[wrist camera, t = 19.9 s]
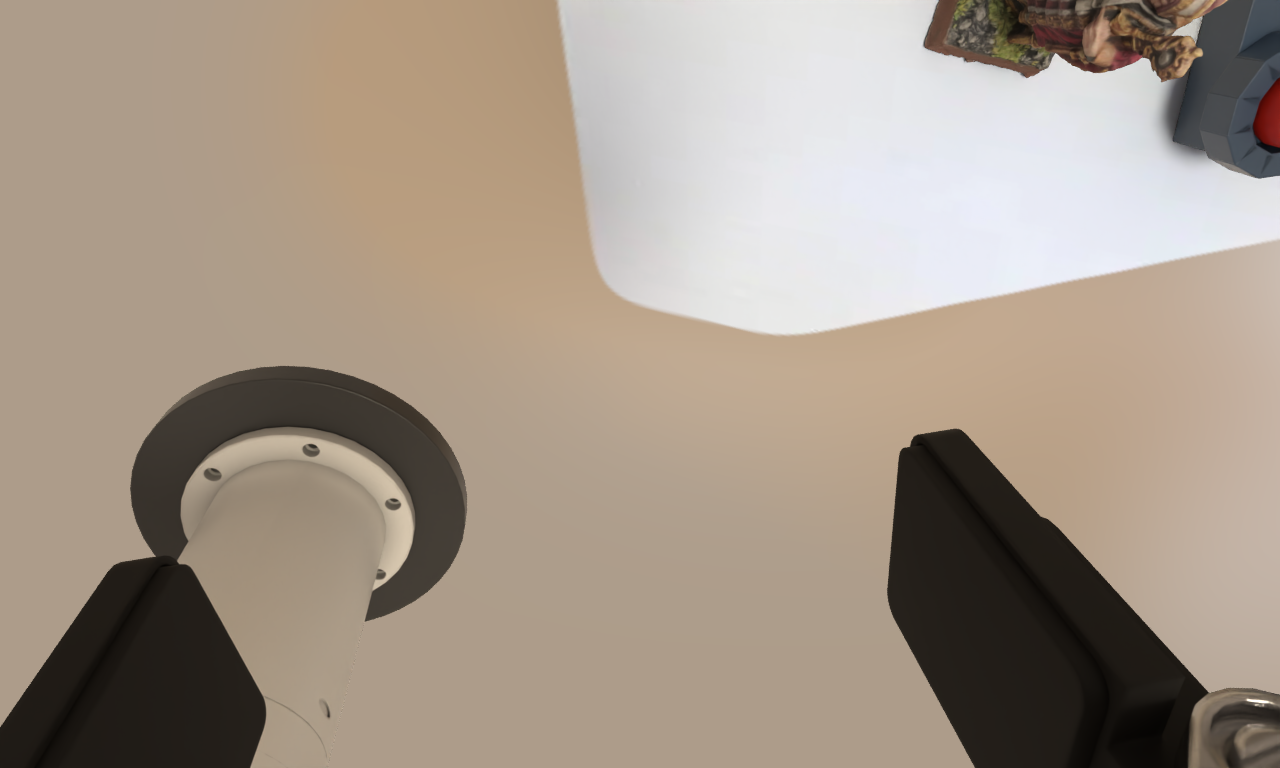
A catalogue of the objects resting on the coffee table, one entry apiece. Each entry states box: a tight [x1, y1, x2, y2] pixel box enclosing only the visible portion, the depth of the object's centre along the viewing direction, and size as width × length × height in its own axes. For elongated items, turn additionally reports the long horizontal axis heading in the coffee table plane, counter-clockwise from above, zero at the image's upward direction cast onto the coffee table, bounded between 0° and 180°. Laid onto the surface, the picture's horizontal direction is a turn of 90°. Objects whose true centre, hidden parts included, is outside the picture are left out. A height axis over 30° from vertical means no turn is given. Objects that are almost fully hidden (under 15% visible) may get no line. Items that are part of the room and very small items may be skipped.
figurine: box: [925, 0, 1228, 82], centre depth 30 cm, size 6×6×12 cm
